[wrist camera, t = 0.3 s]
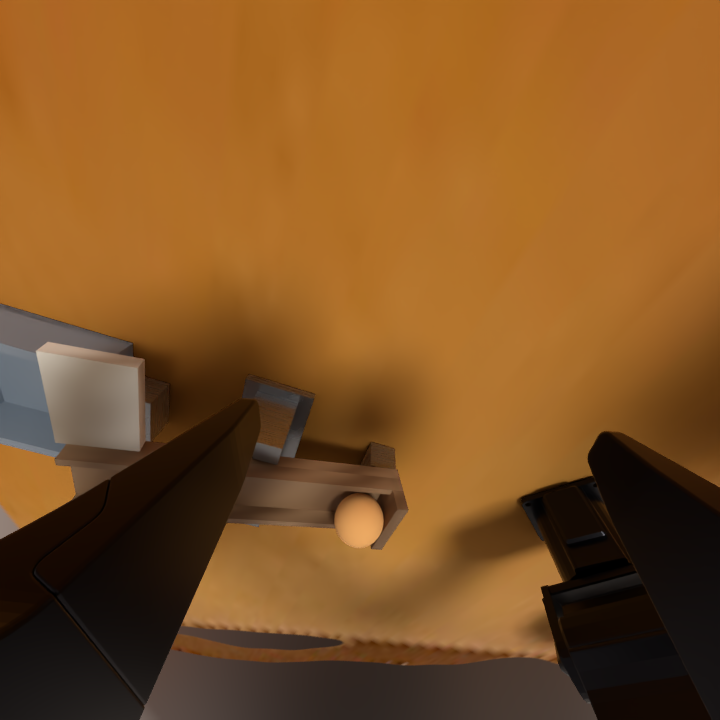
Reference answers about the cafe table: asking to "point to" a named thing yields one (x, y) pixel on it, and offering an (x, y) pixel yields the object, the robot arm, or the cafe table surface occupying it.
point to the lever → (128, 443)
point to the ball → (358, 520)
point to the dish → (36, 375)
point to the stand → (262, 420)
